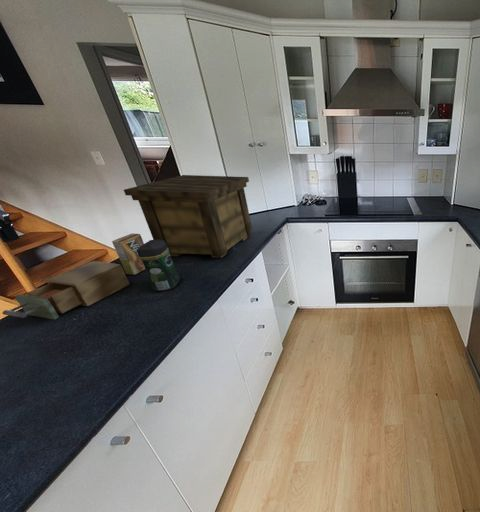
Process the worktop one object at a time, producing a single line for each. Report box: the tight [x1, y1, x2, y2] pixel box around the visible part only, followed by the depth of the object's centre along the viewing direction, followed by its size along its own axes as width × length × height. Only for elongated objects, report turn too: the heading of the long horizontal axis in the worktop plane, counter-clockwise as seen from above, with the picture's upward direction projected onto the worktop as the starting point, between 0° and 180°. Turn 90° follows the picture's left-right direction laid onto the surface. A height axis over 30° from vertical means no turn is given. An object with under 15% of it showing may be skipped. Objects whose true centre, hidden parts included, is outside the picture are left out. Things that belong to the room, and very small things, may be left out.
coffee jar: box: [137, 239, 181, 292], centre depth 104 cm, size 10×8×19 cm
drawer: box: [2, 283, 84, 320], centre depth 90 cm, size 18×11×7 cm, turn 170°
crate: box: [123, 174, 254, 259], centre depth 134 cm, size 35×35×33 cm
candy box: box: [111, 232, 146, 276], centre depth 115 cm, size 9×4×15 cm, turn 175°
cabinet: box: [45, 260, 131, 307], centre depth 100 cm, size 15×13×9 cm
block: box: [39, 290, 62, 310], centre depth 91 cm, size 4×4×4 cm
